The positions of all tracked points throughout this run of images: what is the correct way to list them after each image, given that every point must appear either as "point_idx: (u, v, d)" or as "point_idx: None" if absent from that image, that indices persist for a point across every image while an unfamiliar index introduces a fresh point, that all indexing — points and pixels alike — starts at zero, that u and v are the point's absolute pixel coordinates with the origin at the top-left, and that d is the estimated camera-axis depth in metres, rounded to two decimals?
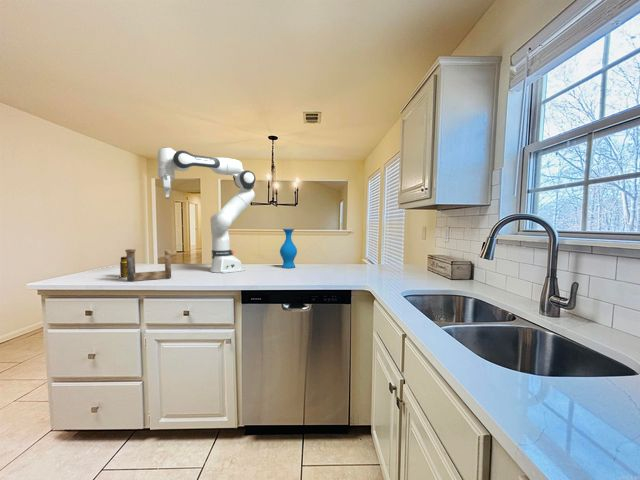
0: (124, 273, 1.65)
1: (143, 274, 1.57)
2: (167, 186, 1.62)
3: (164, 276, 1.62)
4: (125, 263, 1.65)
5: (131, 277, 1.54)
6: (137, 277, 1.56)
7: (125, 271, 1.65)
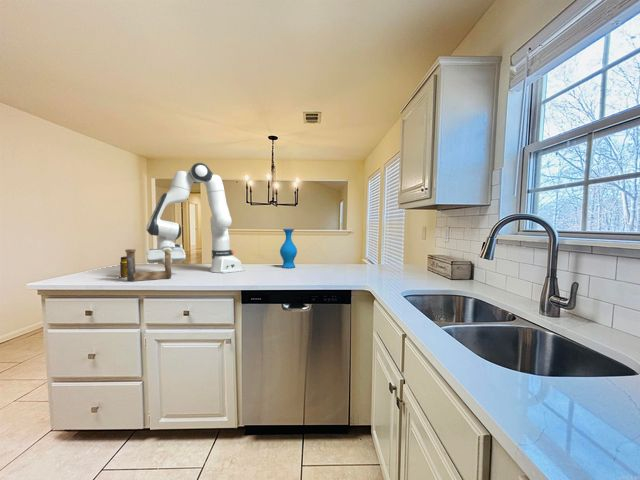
0: (124, 273, 1.65)
1: (143, 274, 1.57)
2: None
3: (164, 276, 1.62)
4: (125, 263, 1.65)
5: (131, 277, 1.54)
6: (137, 277, 1.56)
7: (125, 271, 1.65)
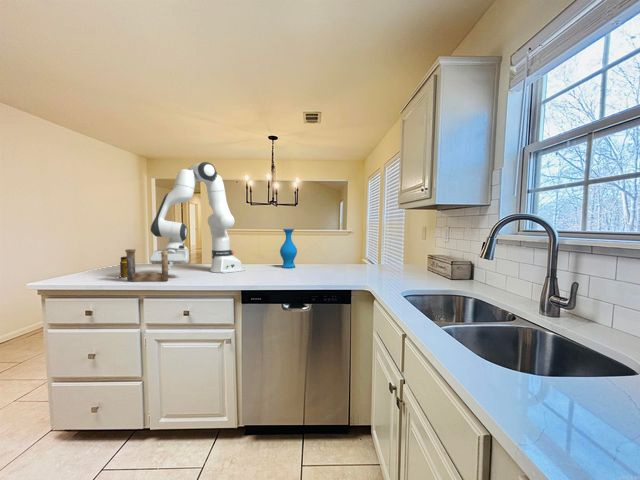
0: (124, 273, 1.65)
1: (141, 275, 1.54)
2: None
3: (160, 279, 1.55)
4: (125, 263, 1.65)
5: (130, 277, 1.54)
6: (135, 278, 1.54)
7: (125, 271, 1.65)
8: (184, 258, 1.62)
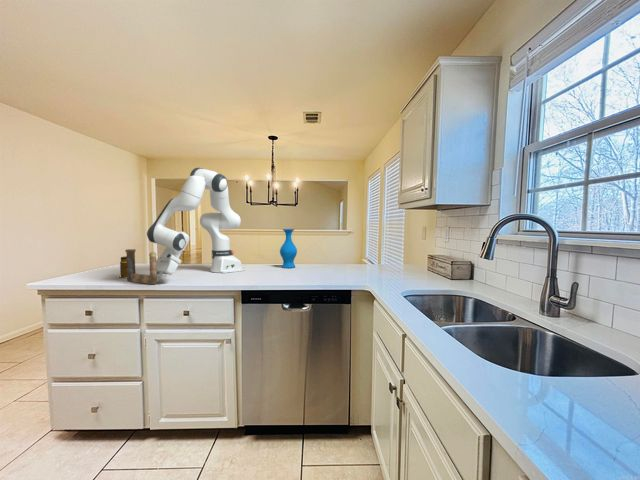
0: (124, 273, 1.65)
1: (136, 276, 1.52)
2: None
3: (149, 281, 1.48)
4: (125, 263, 1.65)
5: (129, 277, 1.54)
6: (133, 278, 1.53)
7: (125, 271, 1.65)
8: (166, 269, 1.47)
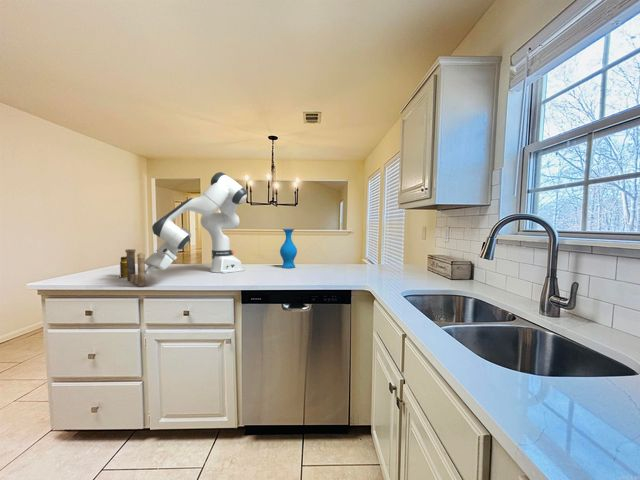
0: (124, 273, 1.65)
1: (132, 276, 1.50)
2: None
3: None
4: (125, 263, 1.65)
5: (128, 277, 1.54)
6: (130, 278, 1.52)
7: (125, 271, 1.65)
8: (159, 263, 1.41)
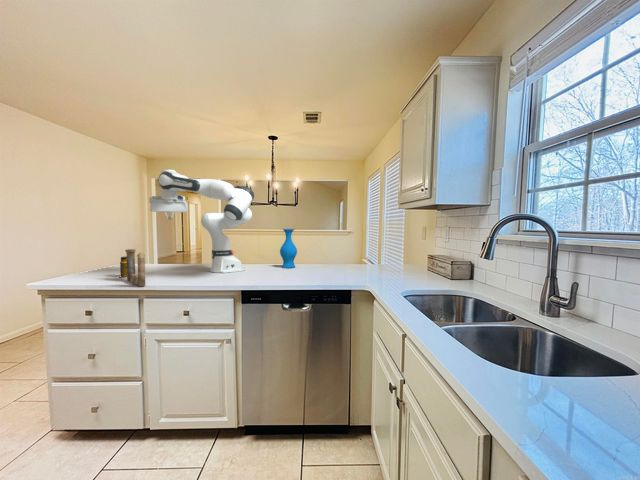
0: (124, 273, 1.65)
1: (132, 276, 1.50)
2: (150, 209, 1.67)
3: None
4: (125, 263, 1.65)
5: (128, 277, 1.54)
6: (130, 278, 1.52)
7: (125, 271, 1.65)
8: (185, 209, 1.75)
